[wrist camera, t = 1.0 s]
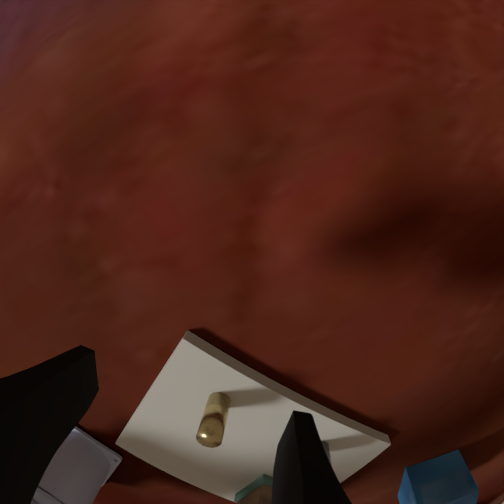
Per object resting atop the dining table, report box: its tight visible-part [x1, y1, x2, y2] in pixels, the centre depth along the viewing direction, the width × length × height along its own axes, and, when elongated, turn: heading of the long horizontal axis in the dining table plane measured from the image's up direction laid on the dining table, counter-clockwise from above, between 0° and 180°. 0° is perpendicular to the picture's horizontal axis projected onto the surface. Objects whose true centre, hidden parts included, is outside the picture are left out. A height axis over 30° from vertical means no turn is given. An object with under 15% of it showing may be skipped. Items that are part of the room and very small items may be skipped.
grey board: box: [115, 330, 391, 503], centre depth 22 cm, size 15×19×1 cm
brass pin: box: [196, 392, 231, 448], centre depth 19 cm, size 2×2×4 cm
